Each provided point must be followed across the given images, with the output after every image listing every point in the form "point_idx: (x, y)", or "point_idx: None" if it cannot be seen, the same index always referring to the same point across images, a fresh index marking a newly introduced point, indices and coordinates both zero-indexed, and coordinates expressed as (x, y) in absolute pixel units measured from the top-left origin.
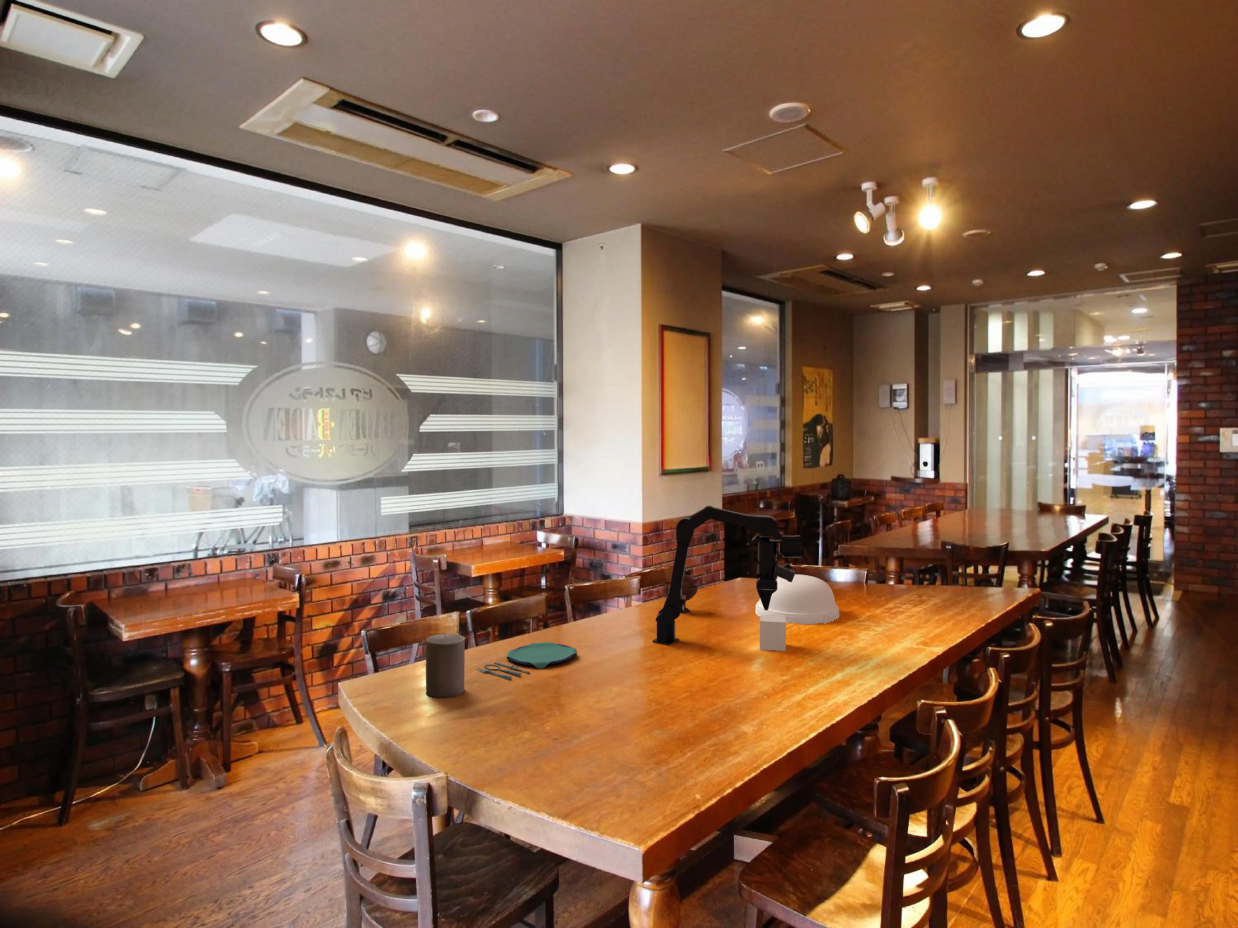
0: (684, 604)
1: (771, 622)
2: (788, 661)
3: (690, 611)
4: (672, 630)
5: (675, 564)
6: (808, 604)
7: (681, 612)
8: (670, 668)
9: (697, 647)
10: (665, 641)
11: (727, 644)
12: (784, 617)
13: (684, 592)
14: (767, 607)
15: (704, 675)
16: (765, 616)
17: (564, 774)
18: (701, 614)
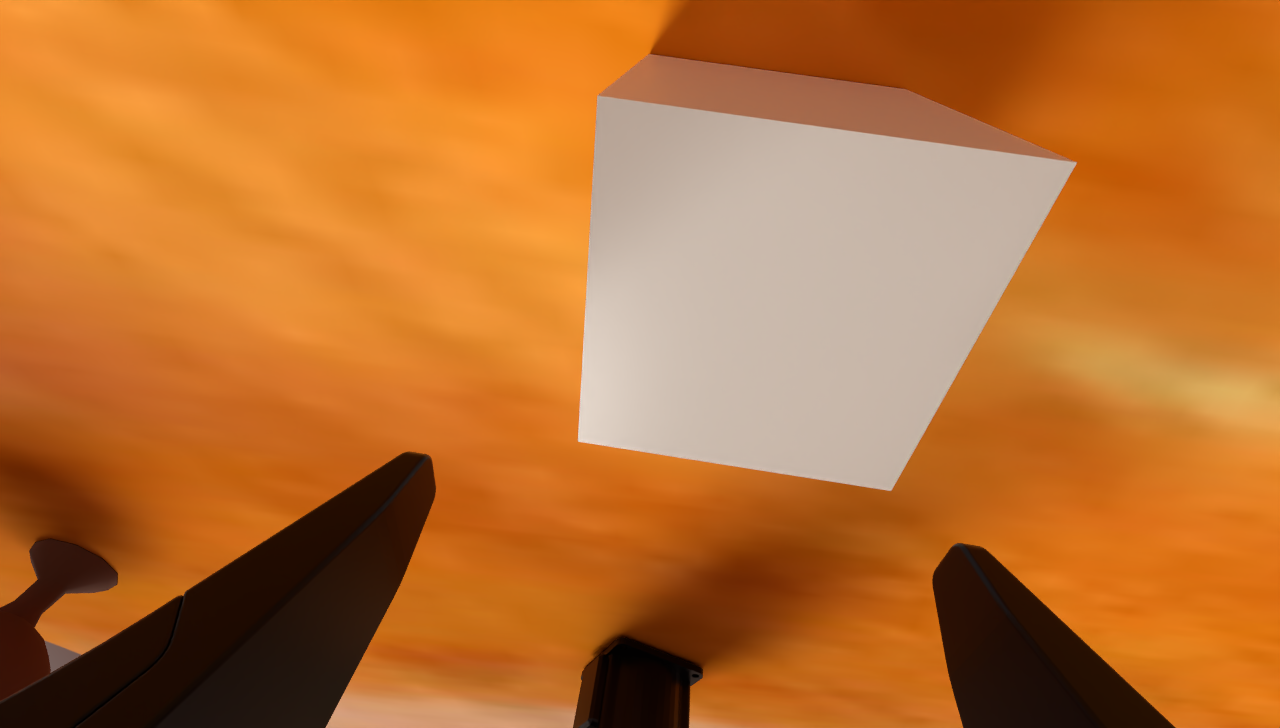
0: (39, 598)
1: (953, 370)
2: (1266, 119)
3: (51, 540)
4: (665, 724)
5: None
6: None
7: (111, 576)
8: None
9: (740, 595)
10: (689, 689)
11: (678, 476)
12: (696, 124)
13: (9, 695)
14: (1013, 600)
15: (1250, 633)
16: (644, 395)
17: None
18: (67, 504)
